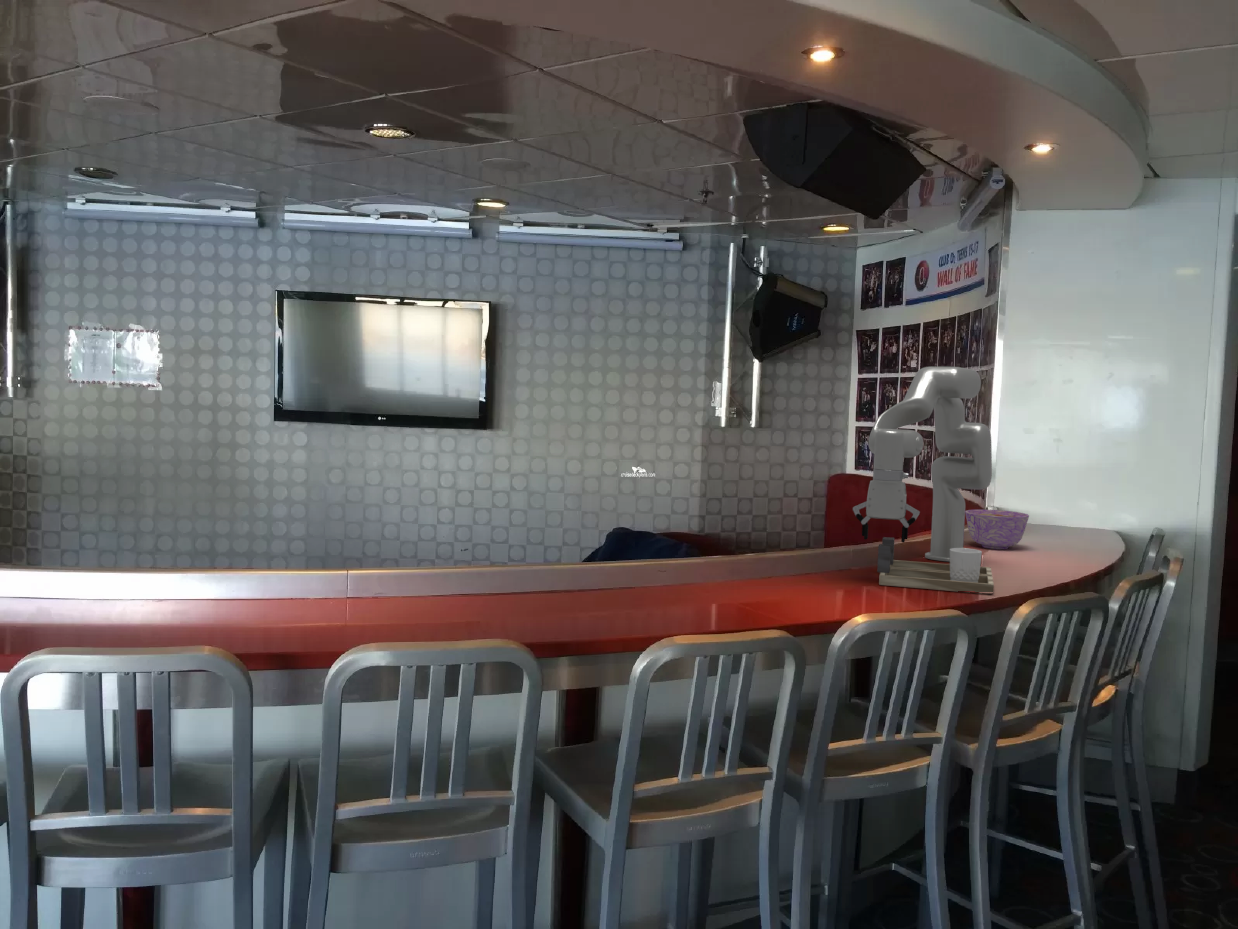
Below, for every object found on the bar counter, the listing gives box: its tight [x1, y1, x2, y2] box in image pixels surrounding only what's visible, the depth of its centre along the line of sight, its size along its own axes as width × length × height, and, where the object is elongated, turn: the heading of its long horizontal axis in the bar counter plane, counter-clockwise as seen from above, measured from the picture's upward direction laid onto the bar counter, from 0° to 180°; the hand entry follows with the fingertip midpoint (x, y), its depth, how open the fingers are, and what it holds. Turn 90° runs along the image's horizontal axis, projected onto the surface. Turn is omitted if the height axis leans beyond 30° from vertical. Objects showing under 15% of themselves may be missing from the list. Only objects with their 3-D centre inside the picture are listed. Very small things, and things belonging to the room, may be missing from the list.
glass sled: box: [876, 543, 995, 593], centre depth 256 cm, size 13×29×10 cm, turn 71°
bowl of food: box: [965, 509, 1030, 550], centre depth 326 cm, size 20×20×12 cm
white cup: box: [949, 547, 983, 583], centre depth 254 cm, size 8×8×10 cm
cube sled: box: [881, 536, 993, 577], centre depth 270 cm, size 13×29×10 cm, turn 71°
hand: (884, 540), depth 260 cm, fingers open, 9 cm apart
